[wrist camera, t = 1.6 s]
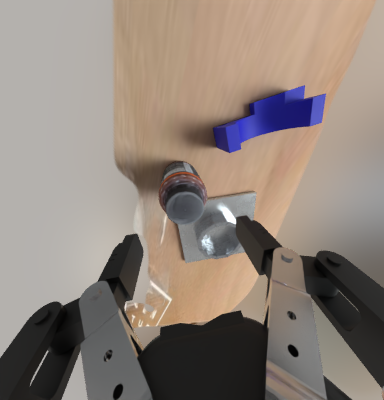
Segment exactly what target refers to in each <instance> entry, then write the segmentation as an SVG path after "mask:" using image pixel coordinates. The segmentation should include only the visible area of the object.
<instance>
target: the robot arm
mask: <svg viewBox="0 0 384 400" xmlns="http://www.w3.org/2000/svg"><path fill="white" fill-rule="evenodd" d="M236 236H237V239H238V241H239V242H240V244H241V245H242V247H243V249H244V250H245V252H246V254H247V255H248V257H249V259H250V260H251V262H252V264H253V265H254V267H255V269H256V270H257V272H258V274H259V275H264V274H266V276H267V278H268V280H267V289H266V298H265V308H264V315H263V322H262V324H261V323H259V322H257V321H256V320H253V319H250V318H247V317H243V315H242V313H241V311H236V312H231V313H226V314H221V315H220V316H218V317H216V318H215V319H213V320H211V321H210V322H208V323H206V324H204V325H192V324H184V323H179V324H174V325H169V326H165V327H161V329H160V335H159V336H157V337H156V338H155V339H154V340H152V341H151V342H150V343H149V344H148V345H147V346H146V347H145V348H143V346H142V344H141V342H140V341H139V339H138V337H137V335H136V333H135V331H134V328H133V326H132V324H131V322H130V320H129V318H128V315H127V313H126V311H125V309H124V305H125V302H126V301H130V300H132V299H133V295H134V291H135V287H136V282H137V278H138V275H139V270H140V266H141V262H142V258H143V247H142V245H141V242H140V240H139V237H138V235H137V234H132V235H126V236H125V238H124V240H123V242H122V243H119V244H118V245H117V247H115V249H114V250H113V252H112V254H111V256H110V258H109V260H108V262H107V264H106V266H105V268H104V270H103V272H102V274H101V276H100V278H99V280H98V282H96V283H94V284H93V285H91V286H90V287H89V288H87V289H86V290H85V291H84V293H83V294H82V295H81V297H80V298H78V299H76V300H74V301H72V302H70V303H68V304H66V305H64V306H63V305H61V303H59V302H52V303H49V304H47V305H45V306H43V307H42V308H40V309H39V310H38V311H37V312H35V313H34V314H33V315H32V316H31V317H30V318H29V320H28V321H27V322H26V324H25V325H24V326H23V328H22V329H21V331H20V332H19V333H18V334H17V336H16V337H15V339H14V340H13V341H12V343H11V344H10V345H9V347H8V348H7V350H6V351H5V352H4V354H3V355H2V356H1V358H0V400H61V399H62V396H63V394H64V391H65V389H66V386H67V383H68V381H69V378H70V376H71V373H72V371H73V368H74V365H75V362H76V360H77V358H78V355H79V352H80V350H81V355H82V363H83V369H84V376H85V383H86V390H87V397H88V400H352V399H351V398H349V397H348V396H347V395H346V394H345V393H344V392H342V391H341V390H340V389H339V388H338V387H336V386H335V385H334V384H333V383H332V382H331V381H329V380H328V379H327V378H326V377H325V376H324V375H323V370H322V364H321V357H320V352H319V351H320V350H319V344H318V337H317V331H316V324H315V318H314V311H313V305H312V299H313V300H314V301H315V302H316V304H317V305H318V306H319V308H320V309H321V310H322V312H323V313H324V314H325V316H326V317H327V318H328V319H329V321H330V322H331V323H332V325H333V326H334V327H335V328H336V330H337V331H338V332H339V334H340V335H341V336H342V337H343V339H344V340H345V341H346V343H347V344H348V345H349V347H350V348H351V349H352V350H353V352H354V353H355V354H356V356H357V357H358V358H359V359H360V361H361V362H362V363H363V364H364V366H365V367H366V368H367V370H368V371H369V372H370V374H371V375H372V376H373V377H374V378H375V380H376V381H377V383H378V384H379V385H380V387H381V388H382V396H383V400H384V288H383V287H381V286H380V285H379V284H377V283H376V282H375V281H374V280H372V279H371V278H370V277H369V276H367V275H366V274H365V273H363V272H362V271H361V270H360V269H358V268H357V267H356V266H354V265H353V264H352V263H351V262H349V261H348V260H347V259H345V258H344V257H342V256H341V255H339V254H336V253H334V252H330V251H319V252H318V253H317V255H316V257H311V256H300V255H298V254H297V253H296V252H295V251H293V250H291V249H288V248H284V247H282V246H281V245H280V244H279V243H278V242H277V241H276V239H275V238H274V237H273V236H272V235H271V234H270V233H268V231H267V230H266V229H265V228H264V227H263V226H262V225H261V224H260V223H258V222H257V221H255V220H252V221H251V219H250V218H249V217H248V216H247V215H244V216H238V217H236ZM339 291H340V292H342V294H343V295H344V296H345V297H346V298H347V299H348V300H349V301H350V302H351V303H352V304H353V305H354V306H355V307H356V308H357V309H358V311H359V312H360V313H359V312H358V311H357V310H356V308H355V307H353V305H352V304H350V302H349V301H348V300H347V299H346V298H345V297H344V296H343V295H342V294H341V293H340V292H339ZM311 298H312V299H311ZM47 350H48V351H49V352H48V354H47V356H46V357H45V359H44V361H43V363H42V365H41V367H40V369H39V371H38V372H37V374H36V376H35V378H34V380H33V382H32V384H31V386H30V383H31V380H32V378H33V375H34V374H35V372H36V370H37V368H38V366H39V364H40V363H41V361H42V359H43V357H44V355H45V353H46V351H47Z"/></svg>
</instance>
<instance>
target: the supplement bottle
mask: <svg viewBox="0 0 384 400" xmlns="http://www.w3.org/2000/svg"><path fill="white" fill-rule="evenodd" d="M206 201H207V191H206V188H205V186H204V184H203V182H202V180H201V179H200V177H199V175H198V174H197V172H196V170H195V169H194V167H193V166H192V165H190V164H189V163H187V162H183V161H177V162H173V163H171V164H170V165H169V166H168V167H167V168H166V169H165V171H164V173H163V177H162V181H161V185H160V190H159V202H160V205H161V207H162V209H163V210H164V211H165V212H166V214H167V216H168V218H169V219H170V220H171V221H173V222H174V223H176V224H180V225H188V224H192V223H194V222H196V221H197V220H198V219H199V218H200V217H201V216H202V214H203V211H204V206H205V204H206Z"/></svg>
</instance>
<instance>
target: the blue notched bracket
mask: <svg viewBox="0 0 384 400" xmlns="http://www.w3.org/2000/svg"><path fill="white" fill-rule="evenodd" d="M304 91H305V85H304V86H301V87H298V88H295V89H292V90H289V91H286V92H283V93H280V94H277V95H275V96H272V97H269V98H266V99H263V100H260V101H257V102H254V103H251V104H250V116H247V117H244V118H241V119H238V120H235V121H232V122H229V123H226V124H223V125H220V126H217V127H214V128H213V131H214V136H215V141H216V146H217V148H219V149H221V150H224V151H226V152H229V153H231V152H234V151H237V150H240V149H241V145H240V143H242V142H244V141H246V140H248V139H250V138H253V137H256V136H259V135H262V134H266V133H270V132H274V131H278V130H283V129H289V128H296V127H307V126H313V125H316V124H319V123H322V117H323V110H324V103H325V96H326V94H322V95H318V96H314V97H310V98H306V99H304Z"/></svg>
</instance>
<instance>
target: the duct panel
mask: <svg viewBox="0 0 384 400" xmlns="http://www.w3.org/2000/svg"><path fill="white" fill-rule="evenodd" d="M255 200H256V192H255V191H251V192H245V193H239V194H233V195H227V196H220V197H214V198H208V199H207V201H206V204H205V206H204V211H203V214H202V216H201V217H200V218H199V219H198V220H197V221H196V222H194V223H192V224H188V225H180V224H178V228H179V233H180V238H181V243H182V248H183V252H184V257H185V262H186V263H189V262H194V261H200V260H205V259H210V258H213V259H219V258H224V257H228V256H230V255H232V254H237V253H243V252H245V250H244V249H243V247H242V245H241V244H240V242H239V241H238V239H237V236H236V217H238V216H244V215H247V216H248V217H249V218H250V219H251V221H252V220H253V218H254V209H255Z"/></svg>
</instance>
